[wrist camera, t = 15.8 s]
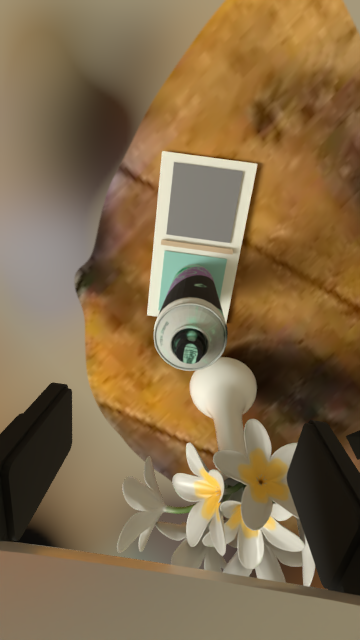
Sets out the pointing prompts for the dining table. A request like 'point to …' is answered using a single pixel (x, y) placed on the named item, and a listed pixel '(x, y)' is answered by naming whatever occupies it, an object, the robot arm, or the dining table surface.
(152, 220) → the dining table surface
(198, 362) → the spray can
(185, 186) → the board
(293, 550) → the flower vase
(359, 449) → the black angular piece
